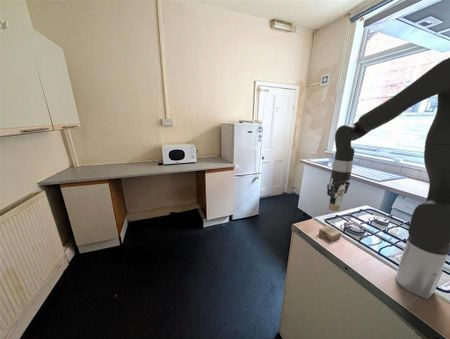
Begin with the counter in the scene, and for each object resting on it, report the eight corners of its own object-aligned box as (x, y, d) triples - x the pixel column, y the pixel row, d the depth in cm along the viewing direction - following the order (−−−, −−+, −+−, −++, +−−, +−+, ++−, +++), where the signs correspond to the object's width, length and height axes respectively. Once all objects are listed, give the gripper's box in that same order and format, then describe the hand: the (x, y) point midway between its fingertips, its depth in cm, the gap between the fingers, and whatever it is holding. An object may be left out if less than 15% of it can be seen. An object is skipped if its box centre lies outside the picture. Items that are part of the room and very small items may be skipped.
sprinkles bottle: (330, 206, 91) (335, 181, 87) (340, 209, 88) (345, 184, 84) (327, 209, 88) (331, 183, 85) (337, 212, 85) (342, 186, 81)
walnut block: (340, 237, 91) (341, 232, 90) (331, 241, 88) (332, 236, 87) (327, 230, 97) (328, 225, 96) (318, 233, 94) (319, 228, 93)
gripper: (340, 173, 76) (333, 209, 81) (359, 169, 82) (352, 203, 87) (324, 169, 83) (318, 202, 87) (343, 165, 89) (337, 197, 93)
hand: (335, 202), depth 87 cm, fingers closed on sprinkles bottle, 4 cm apart
